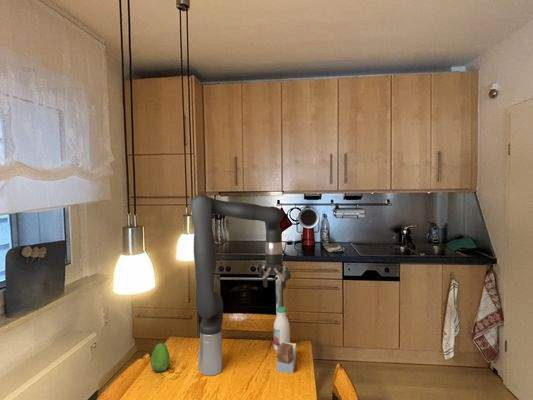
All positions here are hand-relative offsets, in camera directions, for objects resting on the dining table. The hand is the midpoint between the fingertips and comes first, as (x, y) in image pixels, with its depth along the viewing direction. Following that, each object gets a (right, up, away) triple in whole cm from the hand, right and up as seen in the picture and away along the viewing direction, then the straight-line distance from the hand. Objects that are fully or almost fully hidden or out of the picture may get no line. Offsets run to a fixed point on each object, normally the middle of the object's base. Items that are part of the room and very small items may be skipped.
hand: (274, 288), depth 155 cm
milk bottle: (+4, -33, +13) cm, 35 cm away
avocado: (-49, -34, -5) cm, 60 cm away
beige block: (+7, -33, +4) cm, 34 cm away
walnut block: (+5, -30, -5) cm, 30 cm away
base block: (+5, -34, -4) cm, 34 cm away
